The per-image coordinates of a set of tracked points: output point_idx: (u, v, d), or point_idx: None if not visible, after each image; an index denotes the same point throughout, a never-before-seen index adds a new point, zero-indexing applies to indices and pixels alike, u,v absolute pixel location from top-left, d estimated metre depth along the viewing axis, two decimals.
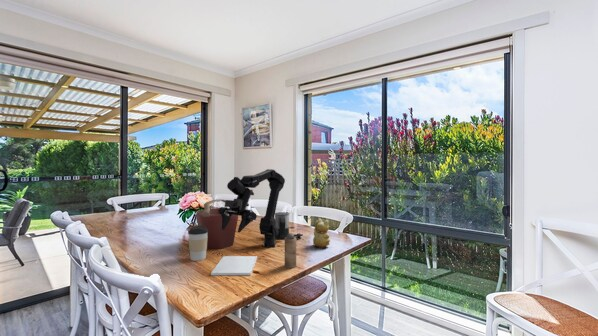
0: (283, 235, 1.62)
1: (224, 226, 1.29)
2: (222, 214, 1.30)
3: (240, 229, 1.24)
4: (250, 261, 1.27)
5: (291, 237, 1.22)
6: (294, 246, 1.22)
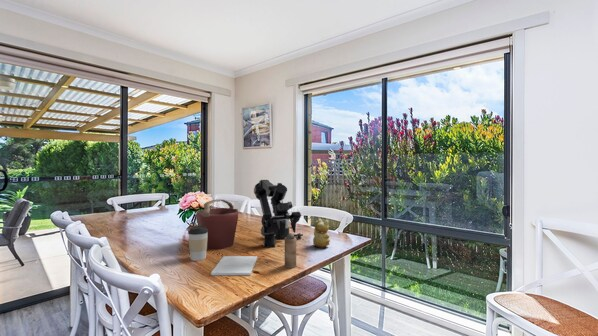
0: (283, 235, 1.62)
1: None
2: (271, 219, 1.30)
3: None
4: (250, 261, 1.27)
5: (291, 237, 1.22)
6: (294, 246, 1.22)
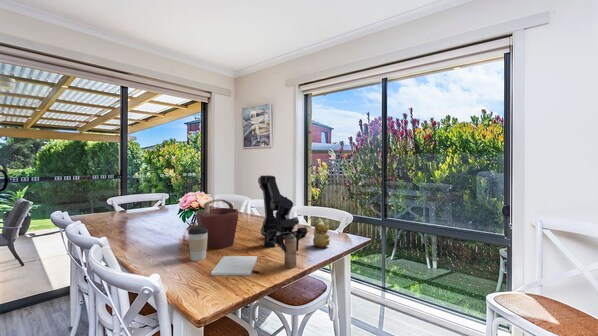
0: None
1: None
2: (280, 236, 1.23)
3: None
4: (250, 261, 1.27)
5: (291, 237, 1.22)
6: (294, 246, 1.22)
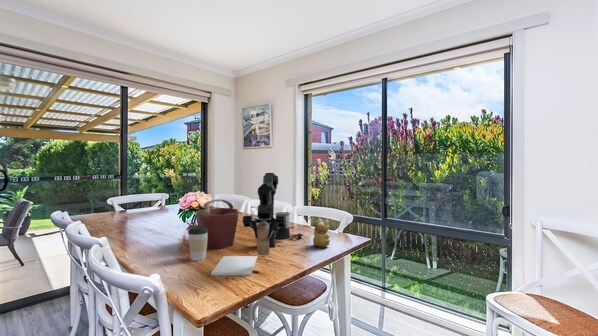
0: (284, 235, 1.62)
1: None
2: (254, 222, 1.22)
3: (270, 235, 1.21)
4: (250, 261, 1.27)
5: (262, 224, 1.20)
6: (264, 233, 1.19)
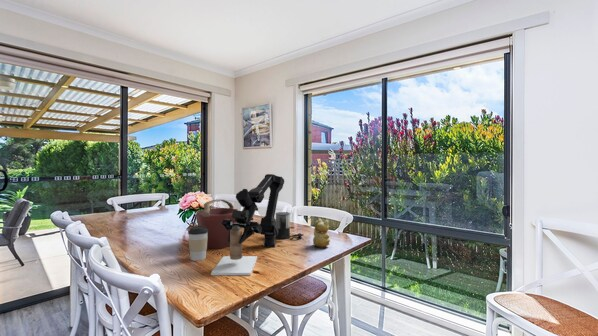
0: (284, 235, 1.62)
1: None
2: (229, 226, 1.26)
3: (242, 240, 1.22)
4: (250, 261, 1.27)
5: (233, 228, 1.22)
6: (234, 238, 1.21)
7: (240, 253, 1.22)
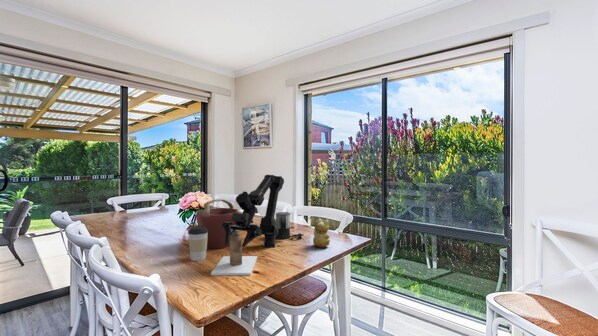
0: (284, 235, 1.62)
1: (227, 241, 1.25)
2: (226, 228, 1.27)
3: (245, 244, 1.21)
4: (250, 261, 1.27)
5: (233, 234, 1.22)
6: (234, 244, 1.21)
7: (240, 259, 1.23)
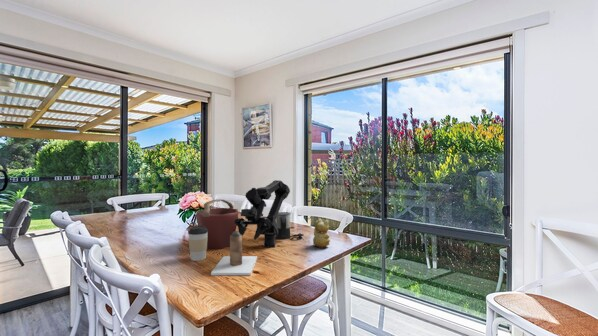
0: (284, 235, 1.63)
1: None
2: (238, 224, 1.36)
3: (256, 236, 1.30)
4: (250, 261, 1.27)
5: (233, 234, 1.22)
6: (234, 244, 1.21)
7: (240, 259, 1.23)
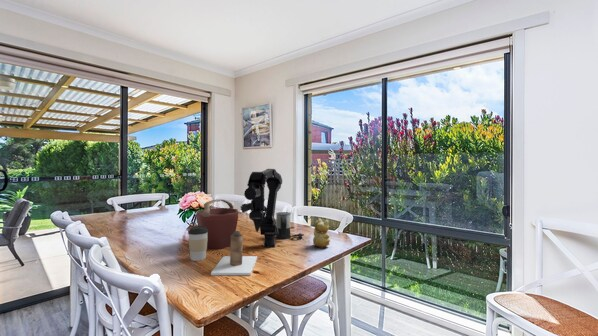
0: (284, 235, 1.63)
1: None
2: None
3: (256, 228, 1.32)
4: (250, 261, 1.27)
5: (234, 234, 1.22)
6: (235, 244, 1.21)
7: (240, 259, 1.23)
